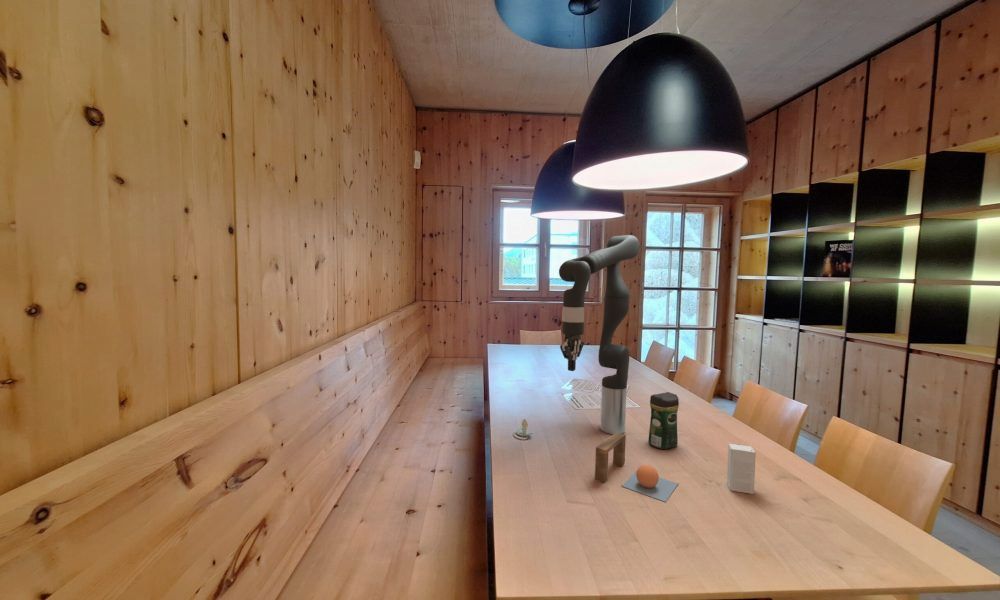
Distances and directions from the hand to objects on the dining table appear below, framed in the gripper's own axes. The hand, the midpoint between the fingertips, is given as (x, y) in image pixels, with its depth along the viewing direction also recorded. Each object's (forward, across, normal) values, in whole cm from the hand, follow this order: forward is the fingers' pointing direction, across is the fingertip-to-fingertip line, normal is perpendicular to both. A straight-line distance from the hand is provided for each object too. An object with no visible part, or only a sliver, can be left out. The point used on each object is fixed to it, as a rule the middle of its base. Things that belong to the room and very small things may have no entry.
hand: (571, 370), depth 136 cm
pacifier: (+27, -3, +18) cm, 33 cm away
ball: (+24, -8, -30) cm, 39 cm away
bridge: (+27, -7, -18) cm, 33 cm away
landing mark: (+27, -7, -30) cm, 41 cm away
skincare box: (+27, +8, -50) cm, 57 cm away
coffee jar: (+27, +24, -24) cm, 43 cm away
